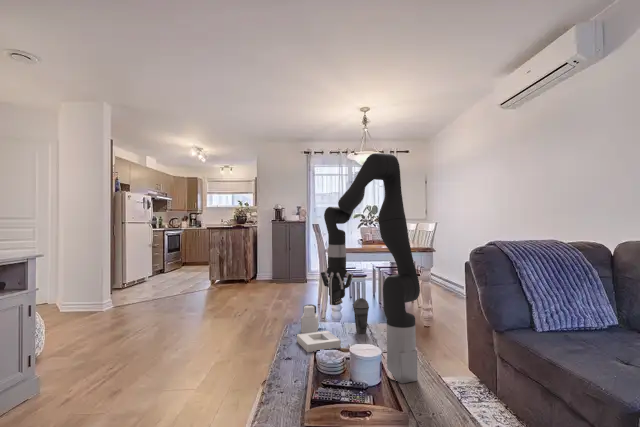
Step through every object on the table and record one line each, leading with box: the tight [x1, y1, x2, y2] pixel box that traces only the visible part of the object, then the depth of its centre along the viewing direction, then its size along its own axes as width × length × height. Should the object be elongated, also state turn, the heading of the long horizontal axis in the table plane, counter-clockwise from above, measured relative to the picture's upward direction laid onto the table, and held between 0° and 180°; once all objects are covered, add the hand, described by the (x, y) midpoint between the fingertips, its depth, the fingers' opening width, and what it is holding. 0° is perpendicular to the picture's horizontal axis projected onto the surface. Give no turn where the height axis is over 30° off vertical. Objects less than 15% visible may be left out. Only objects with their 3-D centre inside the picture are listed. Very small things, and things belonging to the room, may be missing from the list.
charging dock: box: [296, 330, 341, 353], centre depth 154 cm, size 14×14×3 cm
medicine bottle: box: [300, 304, 320, 334], centre depth 172 cm, size 7×7×12 cm
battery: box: [328, 277, 343, 306], centre depth 152 cm, size 7×4×11 cm, turn 149°
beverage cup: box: [352, 288, 370, 335], centre depth 170 cm, size 7×7×20 cm
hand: (336, 297), depth 152 cm, fingers closed on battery, 4 cm apart
